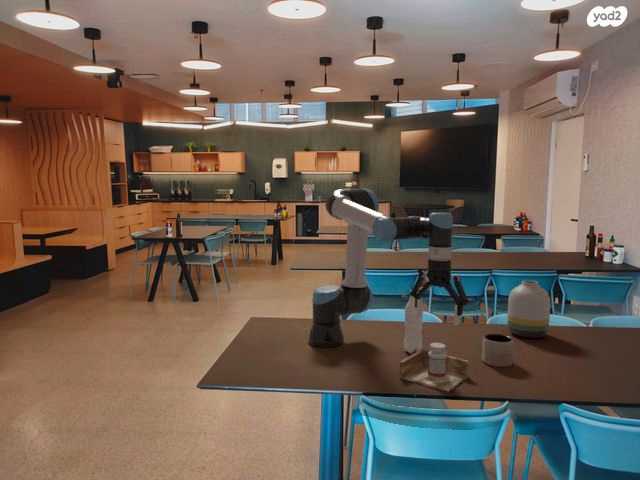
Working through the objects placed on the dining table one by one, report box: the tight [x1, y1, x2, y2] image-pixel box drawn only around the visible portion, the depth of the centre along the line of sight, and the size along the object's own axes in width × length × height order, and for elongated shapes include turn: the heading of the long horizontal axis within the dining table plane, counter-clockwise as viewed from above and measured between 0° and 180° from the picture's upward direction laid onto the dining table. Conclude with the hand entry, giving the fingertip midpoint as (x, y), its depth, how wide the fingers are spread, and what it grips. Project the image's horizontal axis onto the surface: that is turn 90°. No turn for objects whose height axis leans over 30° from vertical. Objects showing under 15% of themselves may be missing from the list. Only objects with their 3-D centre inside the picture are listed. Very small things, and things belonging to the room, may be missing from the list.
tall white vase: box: [403, 289, 424, 354], centre depth 188 cm, size 7×7×25 cm
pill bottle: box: [428, 342, 448, 380], centre depth 162 cm, size 6×6×11 cm
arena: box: [399, 348, 470, 393], centre depth 164 cm, size 18×16×6 cm
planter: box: [481, 332, 515, 368], centre depth 177 cm, size 11×11×10 cm
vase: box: [507, 279, 551, 339], centre depth 209 cm, size 17×17×24 cm
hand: (437, 320), depth 160 cm, fingers open, 13 cm apart
